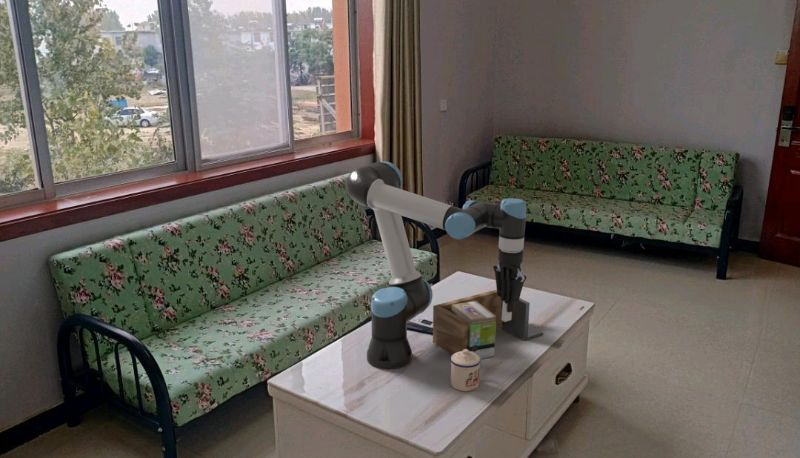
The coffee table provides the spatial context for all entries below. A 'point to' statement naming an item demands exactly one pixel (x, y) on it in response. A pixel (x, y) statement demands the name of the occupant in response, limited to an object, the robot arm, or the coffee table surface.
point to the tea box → (478, 327)
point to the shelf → (460, 321)
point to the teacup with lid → (465, 370)
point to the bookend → (521, 322)
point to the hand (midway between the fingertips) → (506, 320)
